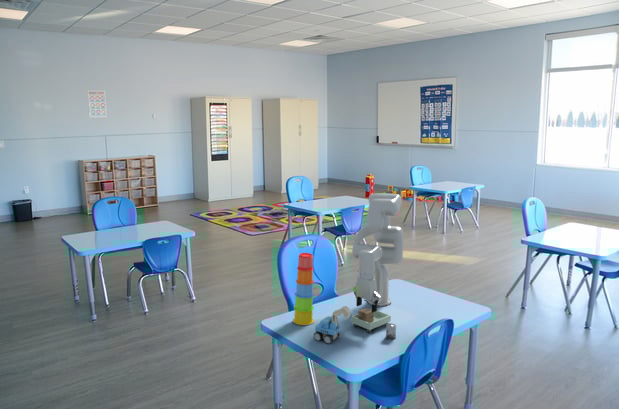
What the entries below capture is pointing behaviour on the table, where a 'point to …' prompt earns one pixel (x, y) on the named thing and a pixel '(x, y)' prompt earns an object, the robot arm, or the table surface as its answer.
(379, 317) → the parts cart
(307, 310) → the stacking cups
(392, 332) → the grey metal cylinder
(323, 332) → the toy excavator
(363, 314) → the walnut block
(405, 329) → the table surface
